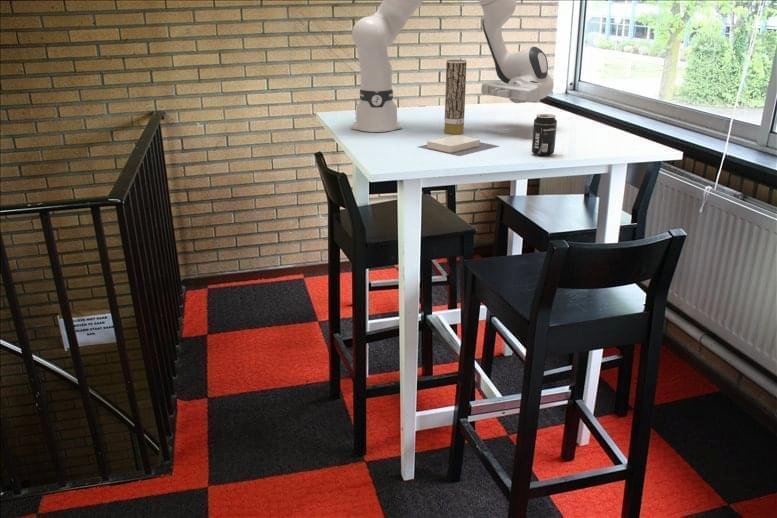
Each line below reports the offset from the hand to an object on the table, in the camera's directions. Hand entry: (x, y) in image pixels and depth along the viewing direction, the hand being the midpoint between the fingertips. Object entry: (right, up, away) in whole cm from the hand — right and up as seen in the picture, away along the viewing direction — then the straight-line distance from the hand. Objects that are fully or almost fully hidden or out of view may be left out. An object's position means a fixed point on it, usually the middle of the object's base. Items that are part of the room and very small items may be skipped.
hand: (494, 93), depth 219 cm
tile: (-9, -16, -4) cm, 19 cm away
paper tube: (-12, -11, +15) cm, 22 cm away
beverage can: (+12, -23, -15) cm, 30 cm away
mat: (-13, -19, -6) cm, 24 cm away
